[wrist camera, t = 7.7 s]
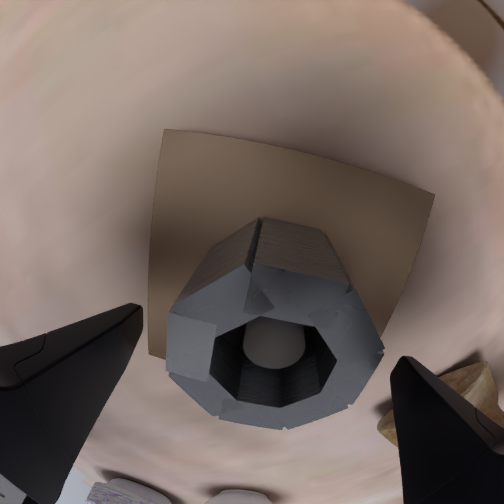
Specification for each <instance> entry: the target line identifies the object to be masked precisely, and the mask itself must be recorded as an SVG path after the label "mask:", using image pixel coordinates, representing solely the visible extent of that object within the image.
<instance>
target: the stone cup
mask: <svg viewBox="0 0 504 504" xmlns="http://www.w3.org/2000/svg"><path fill="white" fill-rule="evenodd" d="M438 378H440V379H441V380H442V381H444V382H445V383H446V384H447V385H449V386H450V387H451V388H452V389H454V390H455V391H456V392H457V393H459V394H460V395H461V396H462V397H464V398H465V399H466V400H467V401H469V402H470V403H471V404H472V405H474V407H476V408H477V409H479V410H480V411H481V412H482V413H484V414H485V415H486V416H488V417H489V418H490V419H492V420H493V421H494V422H496V423H497V424H498V425H500V426H501V427H503V428H504V412H503V411H502V410H501V409H500V407H499V405H498V392H497V388H496V385H495V381H494V378H493V376H492V374H491V369H490V365H489V364H488V363H487V362H486V361H482V362H478V363H475V364H472V365H469V366H466V367H463V368H460V369H457V370H455V371H452V372H450V373H447V374H444V375H442V376H440V377H438ZM377 430H378V431H379V432H380V433H381V434H382V435H383V436H384V437H385V438H386V439H388V440H389V441H390V442H391V443H393V444H394V445H395V446H397V447H398V442H397V435H396V429H395V423H394V416H393V409H392V410H391V411H390V412H388V413H387V414H386V415H385V416H384V417H383V418H382V419H381V420H380V421H379V423H378V425H377Z"/></svg>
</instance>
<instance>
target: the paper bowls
mask: <svg viewBox="0 0 504 504" xmlns="http://www.w3.org/2000/svg"><path fill="white" fill-rule="evenodd" d="M86 503H87V504H172V503H171V501H170V500H169V499H168V498H167V497H166V496H164V495H162V494H161V493H159V492H157V491H155V490H153V489H151V488H149V487H146V486H144V485H142V484H139V483H136V482H133V481H130V480H126V479H122V478H114V479H112V480H110V481H109V482H107V483H106V484H105V483H101V482H95V484H94V485H93V487H92V489H91V491H90V493H89V495H88V497H87V499H86Z"/></svg>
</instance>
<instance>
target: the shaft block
mask: <svg viewBox="0 0 504 504" xmlns="http://www.w3.org/2000/svg"><path fill="white" fill-rule="evenodd" d="M434 197H435V194H433V193H430V192H428V191H425V190H423V189H420V188H417V187H415V186H412V185H409V184H407V183H404V182H401V181H398V180H396V179H393V178H390V177H387V176H384V175H381V174H378V173H375V172H372V171H369V170H366V169H362V168H359V167H356V166H353V165H349V164H346V163H342V162H339V161H335V160H332V159H328V158H324V157H320V156H317V155H313V154H309V153H305V152H300V151H296V150H292V149H288V148H283V147H278V146H274V145H269V144H264V143H259V142H254V141H248V140H243V139H237V138H231V137H225V136H218V135H212V134H205V133H197V132H189V131H180V130H171V129H164V133H163V139H162V145H161V151H160V157H159V164H158V171H157V179H156V187H155V195H154V204H153V214H152V226H151V238H150V254H149V276H148V350H149V355H152V356H155V357H159V358H162V359H165V360H166V345H167V319H168V311H169V310H170V308H171V306H172V305H173V303H174V302H175V300H176V299H177V297H178V296H179V294H180V293H181V291H182V290H183V288H184V287H185V285H186V284H187V282H188V281H189V279H190V278H191V276H192V275H193V273H194V272H195V270H196V269H197V267H198V266H199V264H200V263H201V261H202V260H203V258H204V257H205V256H206V254H207V253H208V251H209V250H210V248H211V247H212V246H214V245H215V244H217V243H218V242H220V241H221V240H223V239H225V238H226V237H228V236H229V235H231V234H232V233H234V232H236V231H237V230H239V229H240V228H242V227H244V226H245V225H247V224H248V223H250V222H252V221H253V220H255V219H256V218H258V217H259V219H260V220H261V222H262V223H263V219H264V216H265V217H270V218H274V219H278V220H283V221H287V222H291V223H296V224H300V225H304V226H308V227H312V228H317V229H321V230H322V232H323V234H324V233H326V235H327V236H328V238H329V240H330V242H331V243H332V245H333V247H334V249H335V251H336V252H337V254H338V256H339V258H340V260H341V261H342V263H343V265H344V267H345V269H346V271H347V273H348V274H349V276H350V278H351V280H352V282H353V284H354V286H355V288H356V290H357V292H358V294H359V296H360V298H361V300H362V302H363V304H364V306H365V308H366V310H367V312H368V314H369V316H370V318H371V320H372V322H373V324H374V326H375V328H376V330H377V332H378V334H379V337H381V336H382V334H383V332H384V330H385V328H386V325H387V323H388V321H389V319H390V317H391V315H392V313H393V311H394V308H395V306H396V304H397V302H398V300H399V297H400V295H401V293H402V290H403V288H404V285H405V283H406V281H407V278H408V276H409V273H410V271H411V268H412V265H413V263H414V260H415V257H416V254H417V252H418V249H419V246H420V243H421V240H422V237H423V234H424V231H425V228H426V225H427V221H428V218H429V215H430V211H431V208H432V204H433V201H434ZM243 349H244V352H245V354H246V356H247V357H248V358H249V359H250V360H251V361H252V362H253V363H255V364H257V365H259V366H261V367H265V368H270V369H279V368H284V367H287V366H290V365H292V364H294V363H295V362H296V361H298V360H299V359H300V358H301V356H302V355H303V353H304V350H305V337H304V328H303V324H298V323H293V322H288V321H283V320H278V319H273V318H268V317H263V316H259V317H257V318H255V319H253V320H251V321H249V322H247V325H246V331H245V336H244V341H243Z"/></svg>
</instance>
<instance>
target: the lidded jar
mask: <svg viewBox="0 0 504 504" xmlns="http://www.w3.org/2000/svg"><path fill="white" fill-rule="evenodd" d="M205 504H273V503H272V502H271V501H270V500H268V499H267V496H266V495H265V494H262V493H259V492H255V491H250V490H241V489H228V490H223V491H221V492H220V494H218V495H216V496H214V497H212V498H211V499H209V500H208V501H207V502H206V503H205Z"/></svg>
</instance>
